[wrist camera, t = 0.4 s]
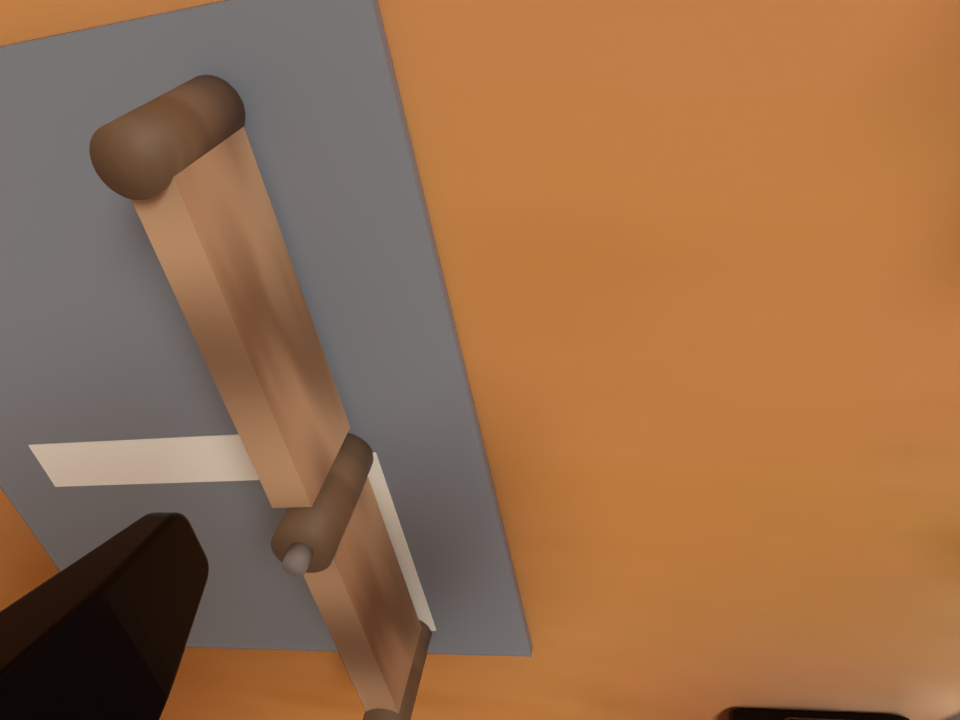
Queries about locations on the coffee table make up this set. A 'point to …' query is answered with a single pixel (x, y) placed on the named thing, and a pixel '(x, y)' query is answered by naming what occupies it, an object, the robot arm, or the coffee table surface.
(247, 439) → the brown wooden bar
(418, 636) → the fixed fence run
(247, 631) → the card
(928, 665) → the coffee table surface
